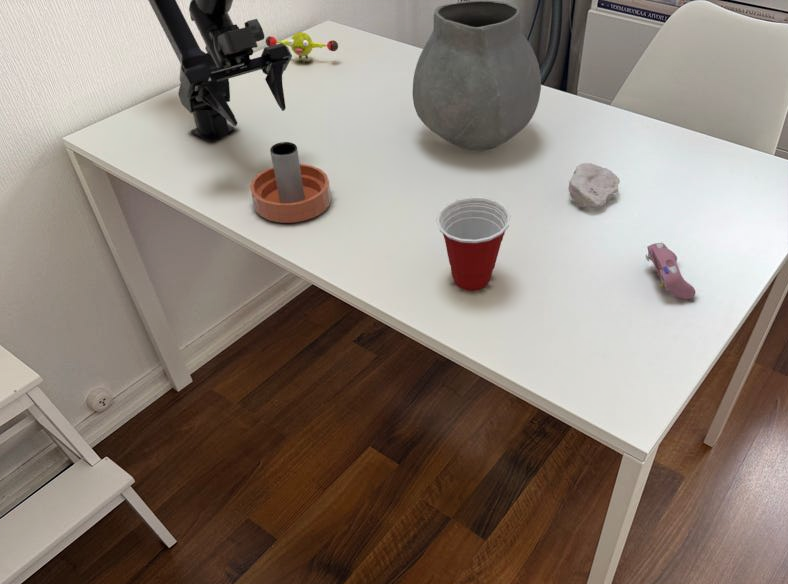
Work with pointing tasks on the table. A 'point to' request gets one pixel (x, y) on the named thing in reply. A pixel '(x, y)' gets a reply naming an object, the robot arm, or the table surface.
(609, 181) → the pale grey lumpy chunk
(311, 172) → the bowl
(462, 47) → the ceramic pot
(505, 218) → the plastic cup
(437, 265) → the table surface
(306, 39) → the toy figure
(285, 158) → the grey hollow cylinder
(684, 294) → the video game controller
